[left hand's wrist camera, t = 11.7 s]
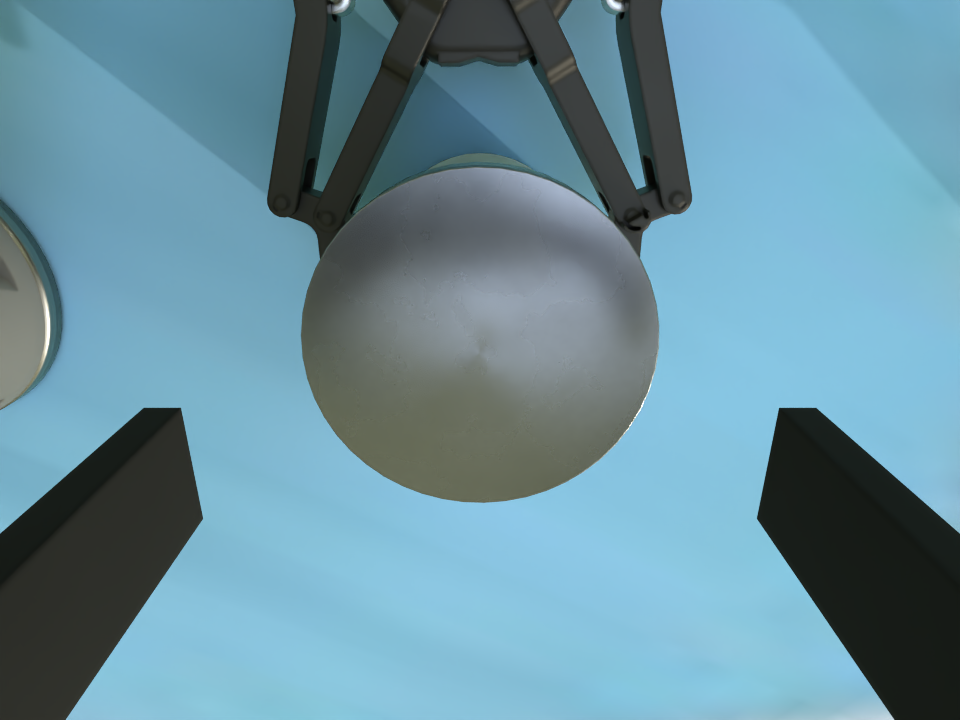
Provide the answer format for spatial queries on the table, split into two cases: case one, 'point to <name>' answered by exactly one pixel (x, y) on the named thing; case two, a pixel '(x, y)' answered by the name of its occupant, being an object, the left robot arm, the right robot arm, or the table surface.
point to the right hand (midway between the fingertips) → (480, 366)
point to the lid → (480, 333)
